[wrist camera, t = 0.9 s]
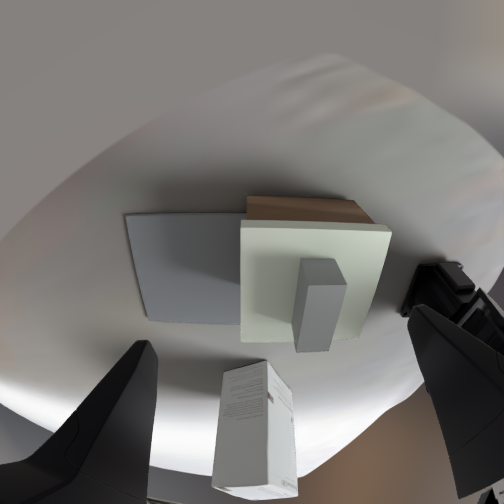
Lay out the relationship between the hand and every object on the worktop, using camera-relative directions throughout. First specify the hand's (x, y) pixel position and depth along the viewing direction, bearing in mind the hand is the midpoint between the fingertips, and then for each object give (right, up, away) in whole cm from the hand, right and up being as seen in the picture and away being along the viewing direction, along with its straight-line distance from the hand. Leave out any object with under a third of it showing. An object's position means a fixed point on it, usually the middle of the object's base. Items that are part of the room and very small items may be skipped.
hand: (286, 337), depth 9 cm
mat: (-3, +1, +15) cm, 15 cm away
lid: (+2, +1, +9) cm, 9 cm away
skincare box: (-1, -13, +23) cm, 27 cm away
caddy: (+2, +3, +13) cm, 14 cm away
